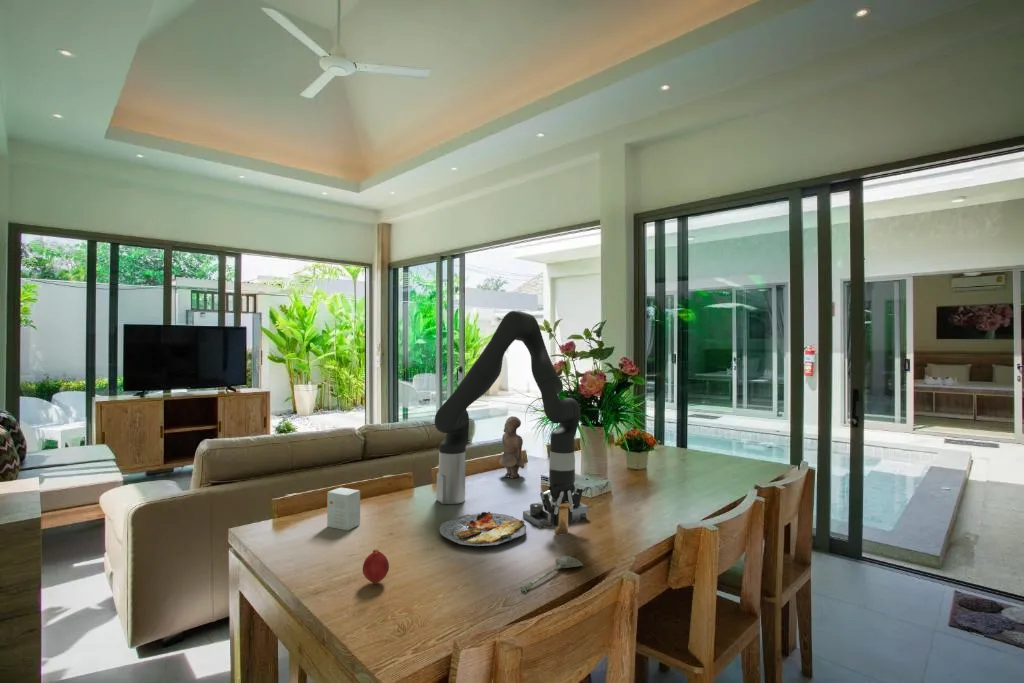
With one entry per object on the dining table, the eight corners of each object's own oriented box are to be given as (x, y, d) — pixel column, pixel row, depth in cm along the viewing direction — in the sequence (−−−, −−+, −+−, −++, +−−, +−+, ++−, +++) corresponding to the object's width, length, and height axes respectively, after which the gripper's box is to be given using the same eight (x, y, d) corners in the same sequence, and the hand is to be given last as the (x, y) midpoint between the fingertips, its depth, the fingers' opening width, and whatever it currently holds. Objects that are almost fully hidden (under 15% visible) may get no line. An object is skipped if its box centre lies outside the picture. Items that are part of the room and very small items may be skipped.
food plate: (488, 513, 166) (488, 502, 166) (542, 534, 149) (542, 522, 149) (424, 535, 148) (424, 523, 148) (477, 561, 132) (476, 548, 132)
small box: (360, 525, 155) (361, 490, 155) (347, 531, 149) (347, 495, 150) (340, 521, 158) (340, 486, 158) (326, 526, 153) (327, 491, 153)
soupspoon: (588, 569, 129) (566, 563, 133) (588, 555, 129) (566, 549, 134) (534, 598, 112) (511, 590, 117) (534, 582, 113) (511, 574, 117)
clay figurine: (493, 475, 214) (494, 415, 215) (512, 471, 220) (513, 413, 220) (511, 482, 204) (512, 419, 204) (531, 478, 210) (532, 417, 210)
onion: (365, 578, 120) (365, 543, 120) (390, 577, 121) (390, 543, 121) (360, 590, 114) (360, 554, 114) (386, 589, 115) (386, 553, 115)
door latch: (539, 527, 154) (539, 504, 154) (522, 517, 163) (523, 495, 163) (587, 518, 163) (588, 496, 163) (569, 509, 172) (570, 488, 172)
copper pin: (558, 536, 147) (559, 505, 147) (549, 530, 152) (549, 500, 152) (573, 533, 150) (574, 502, 150) (563, 528, 154) (564, 498, 154)
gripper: (574, 461, 157) (574, 517, 157) (534, 466, 151) (534, 524, 151) (589, 466, 151) (588, 525, 151) (548, 472, 144) (547, 533, 144)
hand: (561, 524), depth 151 cm, fingers closed on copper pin, 4 cm apart
